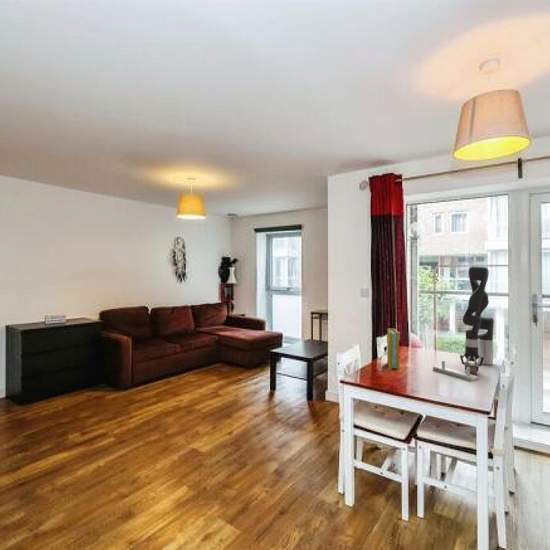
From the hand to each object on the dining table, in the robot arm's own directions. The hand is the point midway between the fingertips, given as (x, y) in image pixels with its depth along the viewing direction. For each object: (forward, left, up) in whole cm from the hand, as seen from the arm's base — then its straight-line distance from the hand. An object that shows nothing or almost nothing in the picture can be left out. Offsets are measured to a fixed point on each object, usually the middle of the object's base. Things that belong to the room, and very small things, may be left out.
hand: (471, 371), depth 227 cm
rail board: (+13, -3, -1) cm, 13 cm away
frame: (0, 0, -1) cm, 1 cm away
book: (+33, -36, -1) cm, 49 cm away
